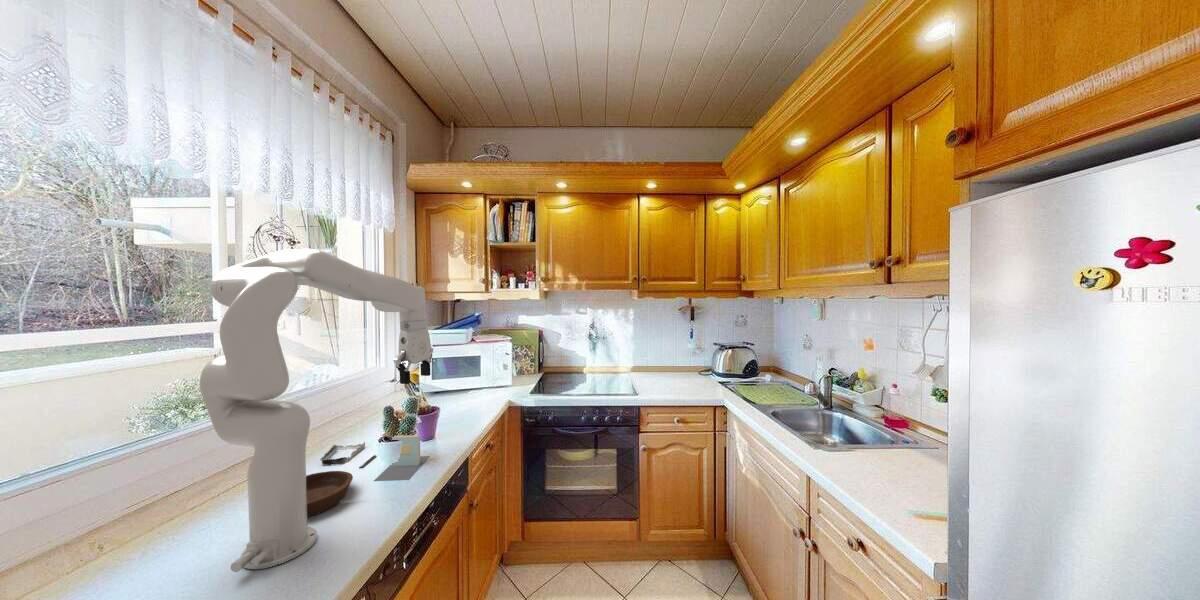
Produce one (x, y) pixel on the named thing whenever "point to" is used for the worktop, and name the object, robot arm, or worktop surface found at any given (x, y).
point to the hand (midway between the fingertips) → (415, 379)
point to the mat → (400, 471)
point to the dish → (326, 490)
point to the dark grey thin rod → (368, 461)
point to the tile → (408, 450)
